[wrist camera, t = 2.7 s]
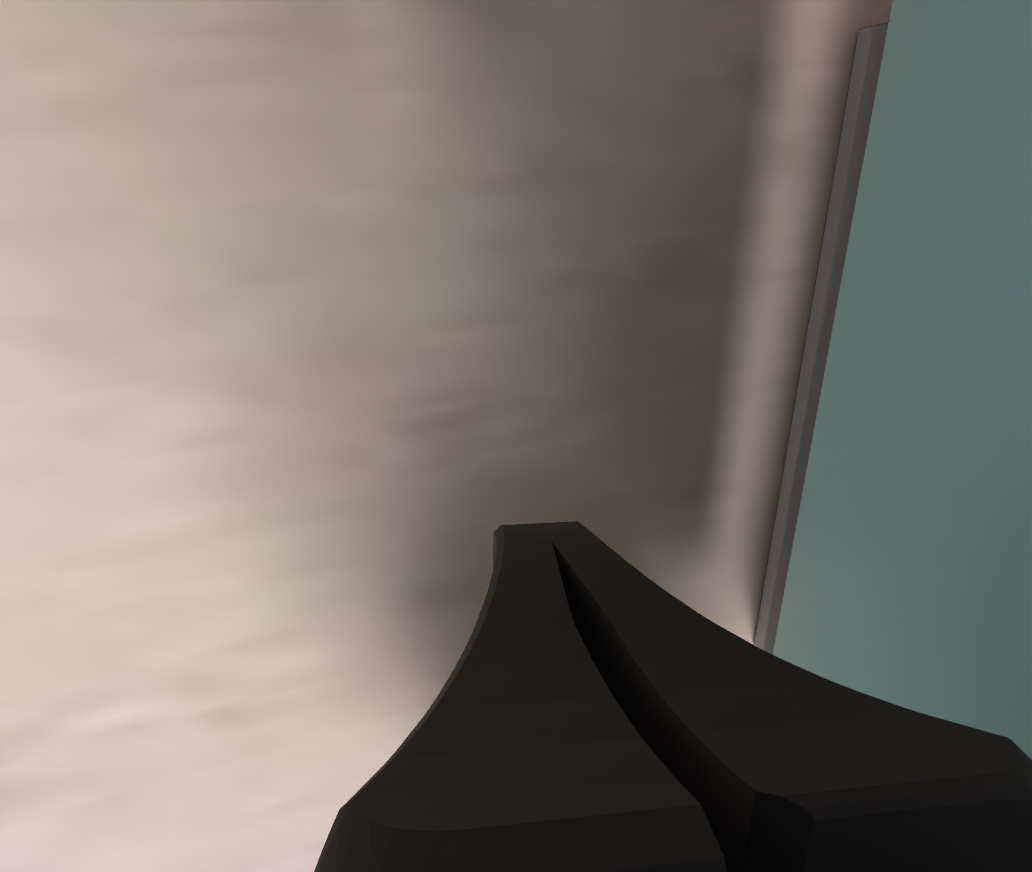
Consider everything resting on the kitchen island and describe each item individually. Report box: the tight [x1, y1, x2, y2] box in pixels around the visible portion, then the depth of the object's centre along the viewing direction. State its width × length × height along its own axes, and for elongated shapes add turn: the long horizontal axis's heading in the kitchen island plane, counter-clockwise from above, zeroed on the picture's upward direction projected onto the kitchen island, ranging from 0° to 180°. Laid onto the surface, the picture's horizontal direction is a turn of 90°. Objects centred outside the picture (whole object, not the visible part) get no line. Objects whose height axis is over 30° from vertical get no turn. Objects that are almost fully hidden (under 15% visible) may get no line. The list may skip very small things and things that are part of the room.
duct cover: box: [773, 0, 1032, 760], centre depth 12 cm, size 18×11×1 cm
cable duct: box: [754, 23, 889, 655], centre depth 20 cm, size 18×10×4 cm, turn 179°
